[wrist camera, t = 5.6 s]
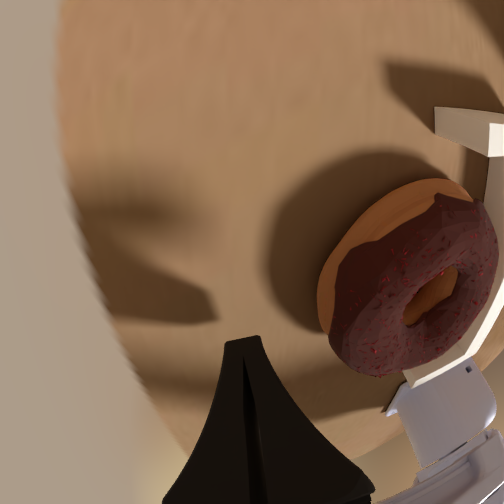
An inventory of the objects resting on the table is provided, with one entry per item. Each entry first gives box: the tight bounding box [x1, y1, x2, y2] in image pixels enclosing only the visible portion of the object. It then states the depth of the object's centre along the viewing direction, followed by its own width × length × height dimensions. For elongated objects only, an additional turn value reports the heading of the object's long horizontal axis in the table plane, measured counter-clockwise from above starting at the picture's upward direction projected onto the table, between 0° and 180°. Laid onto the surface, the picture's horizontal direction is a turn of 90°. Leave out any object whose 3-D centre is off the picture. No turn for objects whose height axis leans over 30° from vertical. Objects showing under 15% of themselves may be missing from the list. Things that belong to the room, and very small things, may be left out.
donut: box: [317, 178, 499, 378], centre depth 11 cm, size 10×10×4 cm
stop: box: [402, 107, 504, 389], centre depth 11 cm, size 6×16×3 cm, turn 11°
